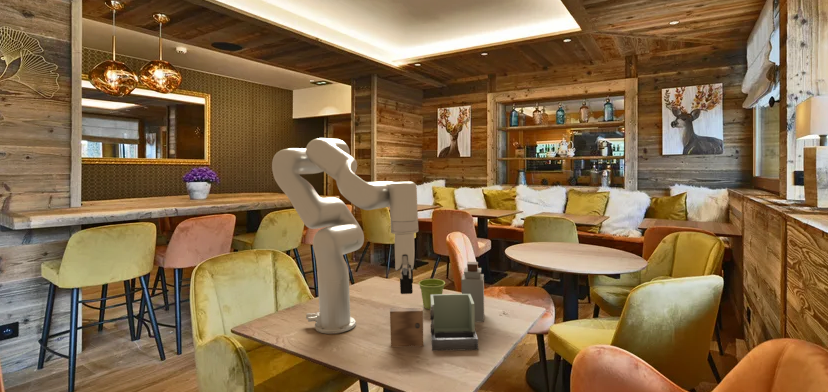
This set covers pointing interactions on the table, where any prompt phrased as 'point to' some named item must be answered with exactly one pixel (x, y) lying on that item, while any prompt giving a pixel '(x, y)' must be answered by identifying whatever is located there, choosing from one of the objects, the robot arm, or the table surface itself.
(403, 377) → the table surface
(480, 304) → the perfume bottle
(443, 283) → the plant pot
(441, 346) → the grey brown open box
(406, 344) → the door
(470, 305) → the box
